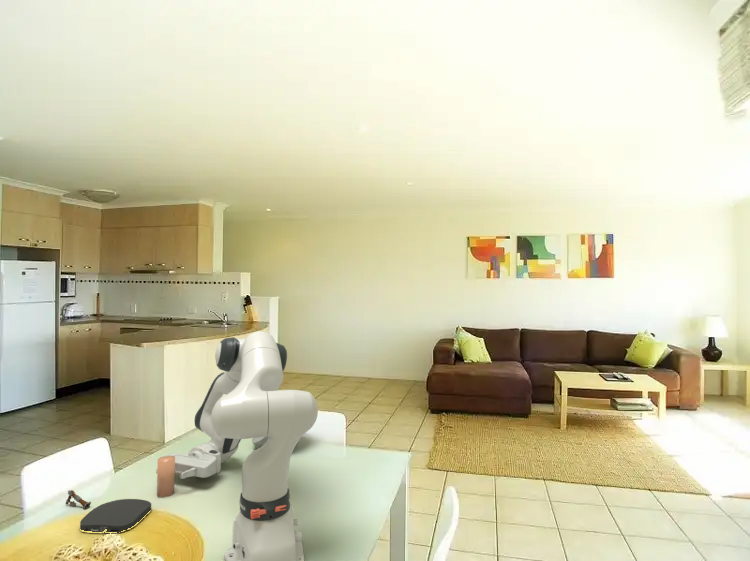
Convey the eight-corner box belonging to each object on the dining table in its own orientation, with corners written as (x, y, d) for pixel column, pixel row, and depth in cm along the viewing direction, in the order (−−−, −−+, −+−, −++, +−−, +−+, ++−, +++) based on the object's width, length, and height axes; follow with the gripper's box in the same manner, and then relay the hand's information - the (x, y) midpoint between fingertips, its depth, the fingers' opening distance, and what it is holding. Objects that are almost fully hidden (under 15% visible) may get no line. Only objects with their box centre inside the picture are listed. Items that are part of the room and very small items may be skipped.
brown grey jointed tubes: (67, 500, 132) (72, 487, 132) (86, 514, 131) (91, 501, 130) (61, 503, 131) (66, 489, 130) (80, 517, 129) (86, 504, 128)
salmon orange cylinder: (174, 495, 138) (175, 460, 138) (156, 498, 136) (157, 462, 136) (174, 489, 142) (175, 454, 143) (157, 491, 140) (157, 456, 141)
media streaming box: (156, 508, 130) (156, 498, 130) (127, 535, 116) (127, 524, 116) (107, 507, 131) (108, 497, 131) (72, 534, 116) (73, 523, 116)
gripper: (177, 445, 157) (144, 459, 144) (224, 453, 150) (194, 468, 137) (177, 463, 157) (144, 478, 144) (224, 472, 149) (193, 489, 136)
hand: (169, 473), depth 140 cm, fingers open, 8 cm apart
